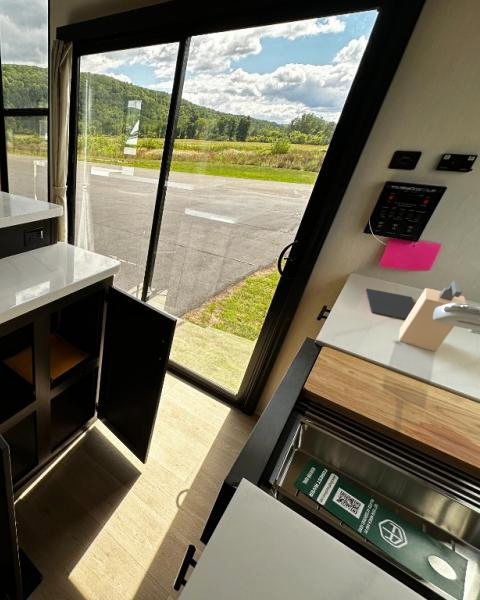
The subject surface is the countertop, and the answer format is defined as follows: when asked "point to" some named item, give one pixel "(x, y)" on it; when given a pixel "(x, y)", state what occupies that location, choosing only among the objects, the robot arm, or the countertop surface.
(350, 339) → the countertop surface
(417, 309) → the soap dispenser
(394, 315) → the mat
